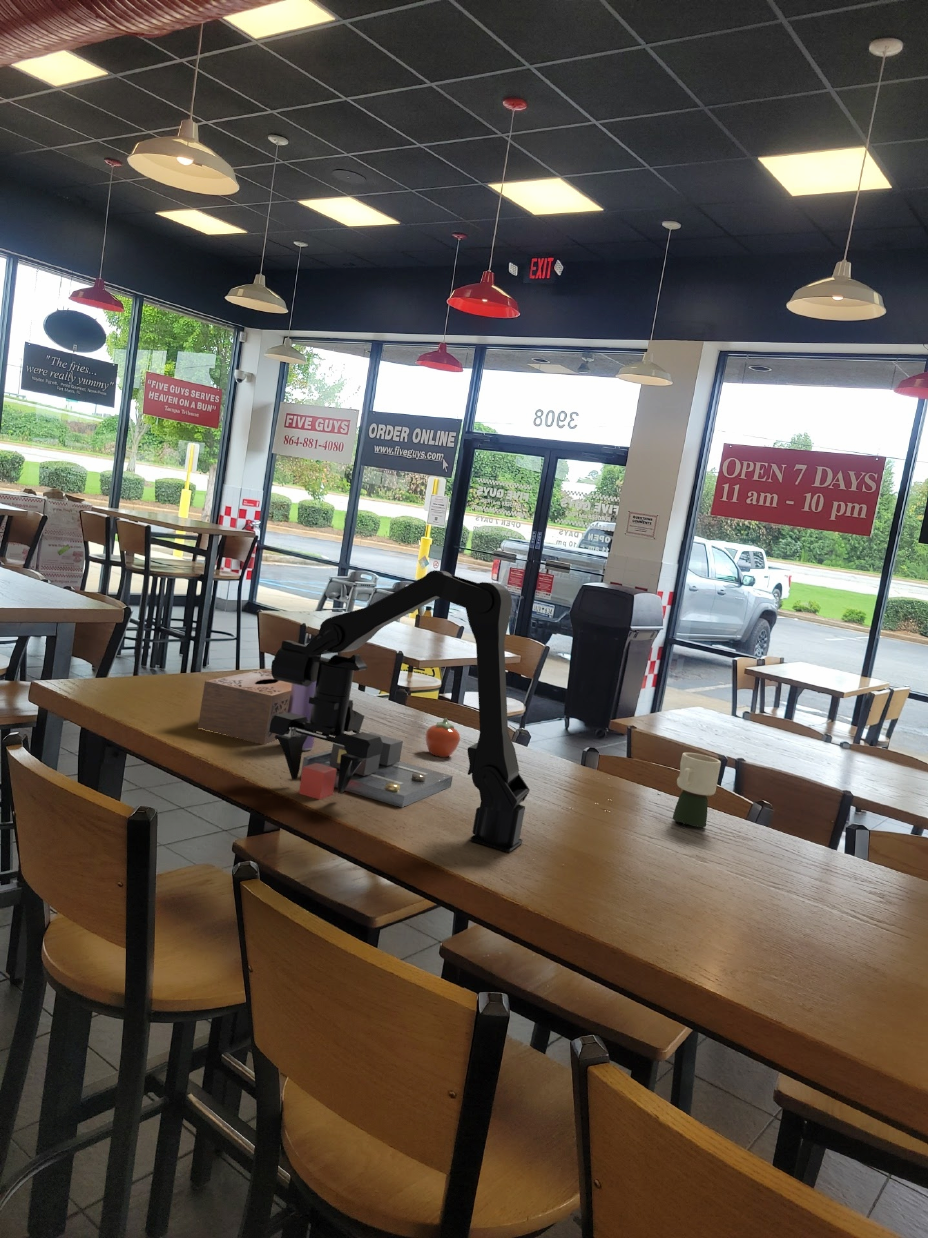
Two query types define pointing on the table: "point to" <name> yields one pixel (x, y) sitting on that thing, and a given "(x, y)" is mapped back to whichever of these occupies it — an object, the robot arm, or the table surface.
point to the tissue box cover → (244, 705)
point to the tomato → (442, 739)
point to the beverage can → (302, 706)
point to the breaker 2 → (389, 750)
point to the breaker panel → (390, 781)
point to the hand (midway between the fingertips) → (317, 785)
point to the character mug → (695, 788)
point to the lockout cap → (317, 781)
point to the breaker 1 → (364, 767)
